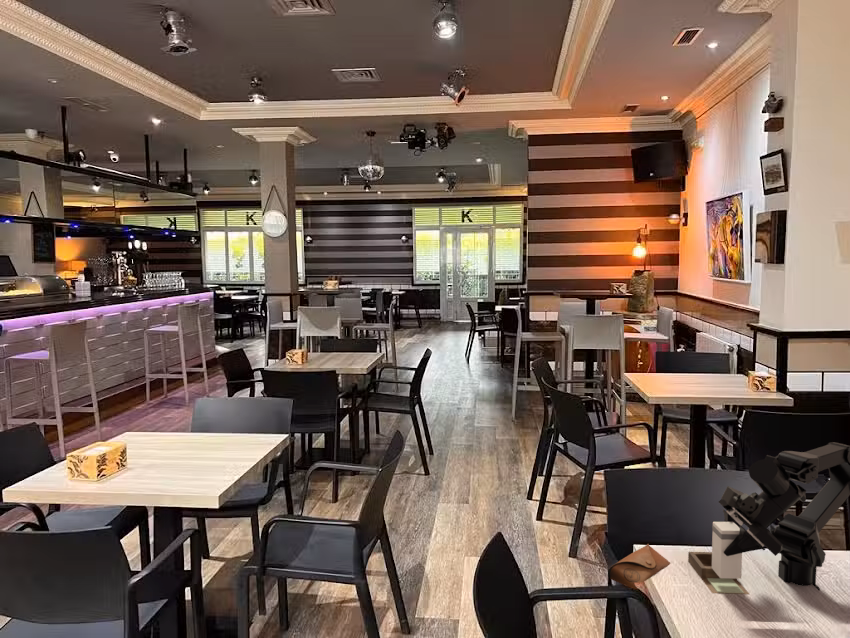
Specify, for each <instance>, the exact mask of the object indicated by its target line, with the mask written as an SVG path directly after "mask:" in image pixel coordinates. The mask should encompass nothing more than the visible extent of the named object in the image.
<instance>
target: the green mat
mask: <svg viewBox="0 0 850 638" xmlns="http://www.w3.org/2000/svg"><path fill="white" fill-rule="evenodd" d="M707 580H708V581H709V582H710V584H711V585H712V586H713V588H714V589H715V590H716V591H717V593H716V594H723V593H744V592H743V591H742V590H741V588H740V587H739V586H738V585H737V584H736V583H735V581H734V580H733V579H723V578H707Z"/></svg>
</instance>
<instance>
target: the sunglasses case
mask: <svg viewBox="0 0 850 638" xmlns="http://www.w3.org/2000/svg"><path fill="white" fill-rule="evenodd" d="M670 564H671V562H670V561H669V560H668V559H667V558H666V557H664V556H663V555H662V554H660V553H659V552H658V551H657V550H656V549H654V548H653V547H652V546H651V545H650V543H647V544H646V545H644V546H643V547H641V548H639V549H637V550H635V551H633V552H632V553H630V554H628V555H627V556H625V557H623V558H622V559H620V560H619V561H617V562H616V563H614V564H612V565H611V566H610V567H609V568H608V571H607V578H609V580H611V581H614V582H617V583H619V584H621V585H624V586H626V587H629V588H632V589H634V590H637V591H638V588H637V586H636V584H641V583H644V582H647V580H649V579H650V578H652V577H653V576H655V575H656V574H659V572H661V571H662V570H664V569H665V568H667V567H668V566H669V565H670ZM635 583H636V584H635Z"/></svg>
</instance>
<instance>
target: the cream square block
mask: <svg viewBox="0 0 850 638" xmlns="http://www.w3.org/2000/svg"><path fill="white" fill-rule="evenodd" d="M711 528H712V534H711V535H712V539H711V540H712V541H711V552H712V569H713V570H714V571H715V573H716V574H717V575H718V576H719V577H720V578H734V579H737V580H739V579H742V569H743V568H742V567H743V565H742V564H743V562H742V561H743V553H739V554H735V555H731V556H726V555H725V554H724V551H725V549H726V548H727V547H728V546H729V545H730V544H731V543H732V542H733V541H734V539H735V538H736V537H737V536H738V535H739V532H740V528H739V527H738V526H737V525H736V524H735V523H734V522H724V521H713V522H712V526H711Z"/></svg>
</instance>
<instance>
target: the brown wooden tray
mask: <svg viewBox="0 0 850 638" xmlns="http://www.w3.org/2000/svg"><path fill="white" fill-rule="evenodd" d="M687 554H688V557H687V562H688V564H689V565H690V566H691V568H692V569H693V570H694V572H696V574H697V576H699V577H700V579H701V580H702V582H703V583H704V585H705V586H706V587H707V588H708V590H709V591H710V592H711V594H718V593H717V591H716V590H715V589H714V588H713V586H712V585H711V584H710V582H709V581H708V580H707V578H720V577H719V576H718V575H717V574H716V573H715V571H714V570H713V569H712V551H688V553H687ZM723 579H733V580H734V581H735V583H736V584H737V585H738V586H739V587H740V588H741V590H742V591H743V592H744V593H722V594H729V595H730V594H732V595H733V594H734V595H750V592H749V591H747V589H746V588H745V587H744V586H743V585H742V583H741V582H740V581H739V579H734V578H723Z"/></svg>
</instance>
